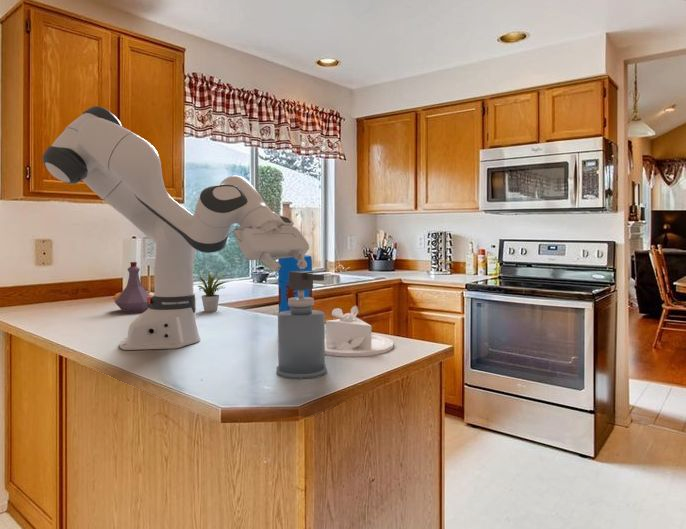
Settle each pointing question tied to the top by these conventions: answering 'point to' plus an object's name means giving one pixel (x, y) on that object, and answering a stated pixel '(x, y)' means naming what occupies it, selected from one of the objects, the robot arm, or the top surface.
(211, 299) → the house plant
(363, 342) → the dish
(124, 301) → the flask
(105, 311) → the top surface
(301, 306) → the dispenser
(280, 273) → the thermos
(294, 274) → the pump head
